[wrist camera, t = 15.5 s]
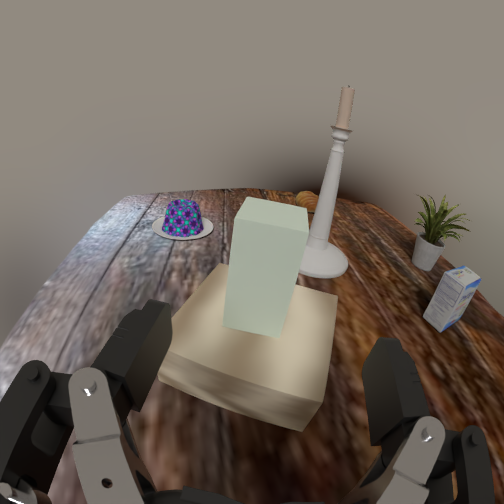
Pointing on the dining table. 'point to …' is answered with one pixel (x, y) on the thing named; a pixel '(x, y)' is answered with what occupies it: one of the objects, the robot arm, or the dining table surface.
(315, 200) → the pastry
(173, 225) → the pudding
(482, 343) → the dining table surface
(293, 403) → the oak block
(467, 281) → the medicine box
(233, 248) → the pale green block
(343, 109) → the candlestick
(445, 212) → the house plant
